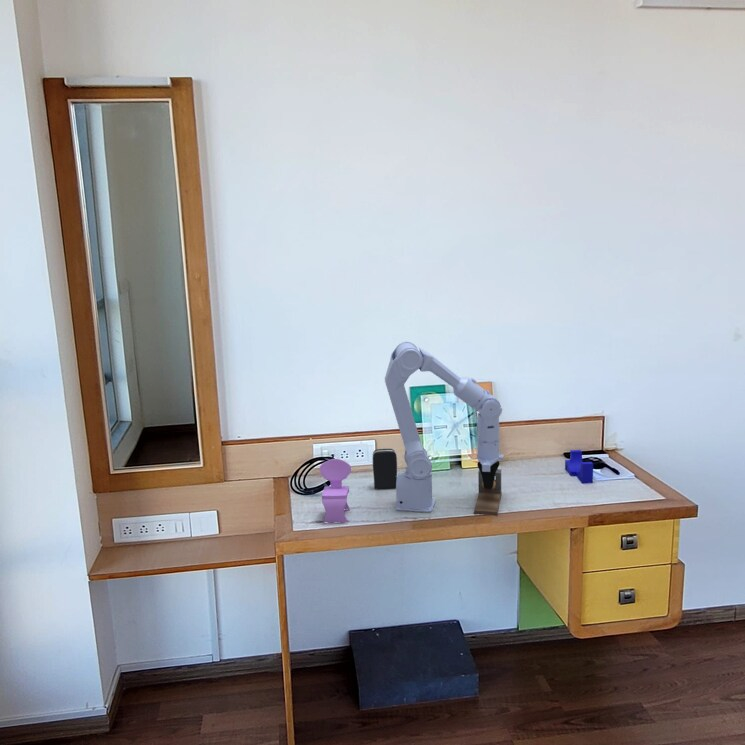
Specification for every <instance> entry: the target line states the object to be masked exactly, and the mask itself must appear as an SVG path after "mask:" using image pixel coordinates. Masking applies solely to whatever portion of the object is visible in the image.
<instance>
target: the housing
mask: <svg viewBox="0 0 745 745" xmlns="http://www.w3.org/2000/svg"><path fill="white" fill-rule="evenodd" d="M477 474H478V480H477V481H478V483H477V484H478V493H491V494H501V495H502V469H499V468H498V469H497V471H496V473H495V480H496V486H495V489H494V490H492V491H486V490H484V489H483V487H482V482H483V479H482V475H481V472H480V470H479V469H478V472H477Z"/></svg>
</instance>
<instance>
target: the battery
mask: <svg viewBox="0 0 745 745" xmlns="http://www.w3.org/2000/svg"><path fill="white" fill-rule="evenodd" d="M372 474H373V488H374V489H375V490H389V489H390V490H392V489H396V480H397V476H398V457H397V453H396V451H395V449H393V448H378V449H374V450H373V452H372Z"/></svg>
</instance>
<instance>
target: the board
mask: <svg viewBox="0 0 745 745" xmlns="http://www.w3.org/2000/svg"><path fill="white" fill-rule="evenodd" d="M501 497H502V493H501V494H491V493H479V492H478V494H477V498H476V502H475V505H474V510H473V514H474V515H482V514H483V516H484V515H485V516H498V515H499V510H500V509H499V508H500V504H501V499H502V498H501Z"/></svg>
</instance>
